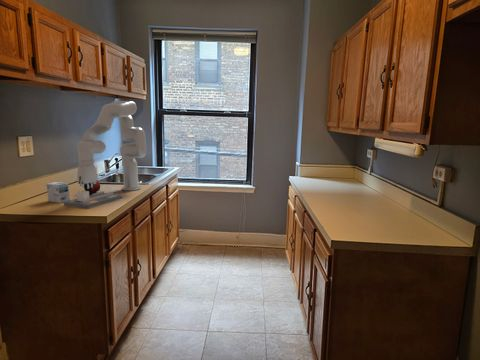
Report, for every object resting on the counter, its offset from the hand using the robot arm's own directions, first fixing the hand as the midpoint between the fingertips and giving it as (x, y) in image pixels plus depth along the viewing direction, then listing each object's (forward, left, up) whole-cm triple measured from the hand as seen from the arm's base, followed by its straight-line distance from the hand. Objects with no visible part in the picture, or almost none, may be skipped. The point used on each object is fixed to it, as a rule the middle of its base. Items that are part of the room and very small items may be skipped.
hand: (89, 194), depth 185 cm
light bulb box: (+4, -20, -5) cm, 21 cm away
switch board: (-3, 0, -5) cm, 6 cm away
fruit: (-20, -19, -5) cm, 28 cm away
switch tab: (+4, 0, -2) cm, 5 cm away
